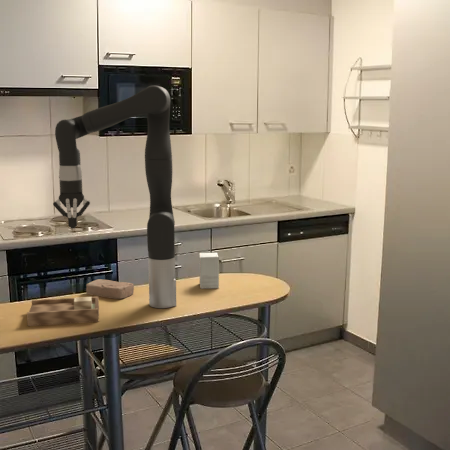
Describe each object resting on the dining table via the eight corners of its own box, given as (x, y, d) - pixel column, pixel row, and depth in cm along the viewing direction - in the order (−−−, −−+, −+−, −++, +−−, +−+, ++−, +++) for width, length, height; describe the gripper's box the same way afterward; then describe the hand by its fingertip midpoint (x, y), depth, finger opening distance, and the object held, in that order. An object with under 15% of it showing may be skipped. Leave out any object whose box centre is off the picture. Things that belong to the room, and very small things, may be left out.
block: (91, 304, 206) (91, 296, 205) (91, 308, 202) (91, 300, 201) (74, 305, 205) (74, 297, 204) (74, 309, 201) (73, 301, 200)
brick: (85, 294, 228) (84, 282, 227) (99, 289, 236) (98, 277, 235) (121, 301, 221) (121, 288, 220) (134, 295, 228) (134, 282, 227)
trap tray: (98, 308, 212) (98, 296, 211) (98, 321, 198) (98, 309, 197) (32, 312, 208) (31, 300, 207) (27, 326, 194) (26, 313, 193)
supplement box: (217, 283, 243) (218, 252, 240) (218, 288, 235) (219, 256, 233) (199, 283, 242) (199, 252, 240) (199, 288, 235) (199, 256, 233)
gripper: (90, 177, 215) (92, 225, 218) (51, 177, 212) (54, 226, 215) (90, 179, 207) (92, 229, 211) (49, 180, 205) (52, 230, 208)
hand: (72, 228), depth 213 cm, fingers closed
